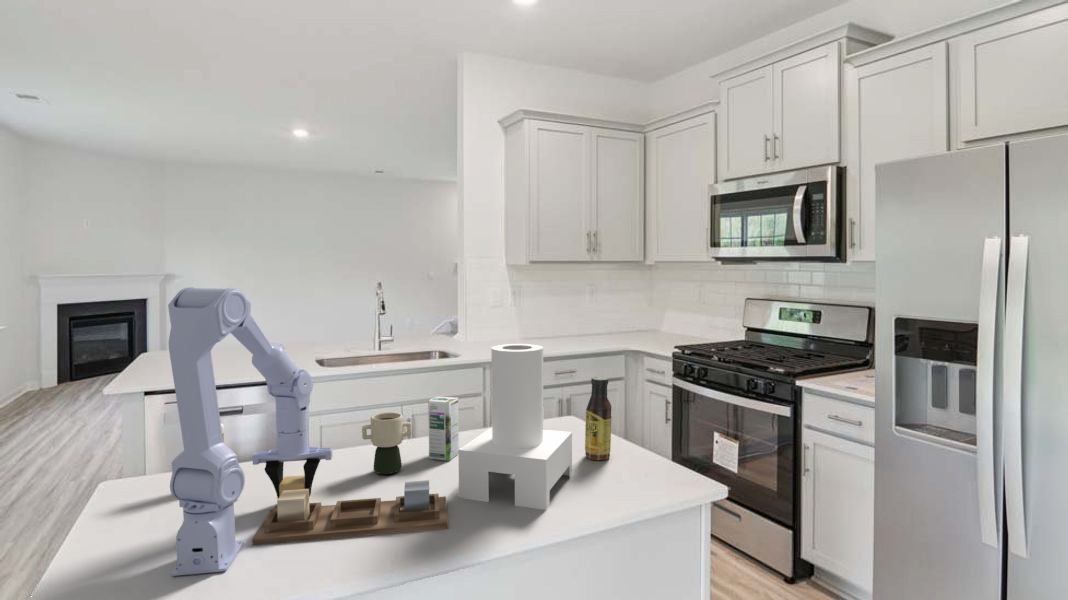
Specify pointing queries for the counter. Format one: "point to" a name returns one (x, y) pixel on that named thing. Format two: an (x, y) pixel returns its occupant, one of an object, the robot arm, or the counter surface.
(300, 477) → the ochre block
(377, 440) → the character mug
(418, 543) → the counter surface
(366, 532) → the puzzle board
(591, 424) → the sauce bottle
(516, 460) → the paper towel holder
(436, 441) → the syrup box
